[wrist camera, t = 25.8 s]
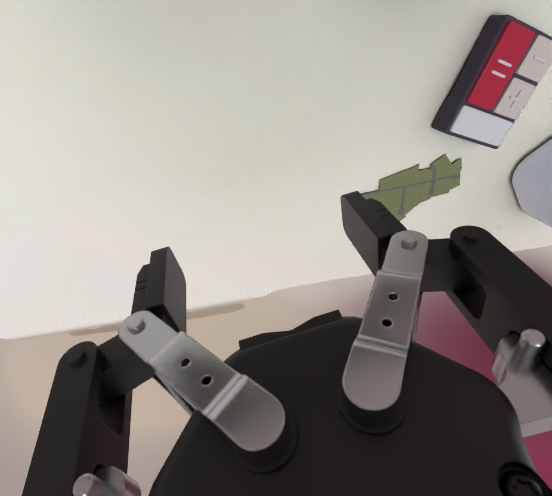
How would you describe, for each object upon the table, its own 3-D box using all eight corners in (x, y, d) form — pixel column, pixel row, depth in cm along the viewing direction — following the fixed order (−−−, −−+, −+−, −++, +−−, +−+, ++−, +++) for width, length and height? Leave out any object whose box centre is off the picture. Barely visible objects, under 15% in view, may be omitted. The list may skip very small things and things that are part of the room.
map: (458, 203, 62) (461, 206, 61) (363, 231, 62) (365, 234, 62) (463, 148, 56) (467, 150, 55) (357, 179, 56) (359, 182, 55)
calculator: (568, 43, 45) (501, 151, 52) (541, 41, 49) (481, 143, 56) (512, 13, 41) (448, 134, 48) (486, 14, 45) (430, 127, 52)
